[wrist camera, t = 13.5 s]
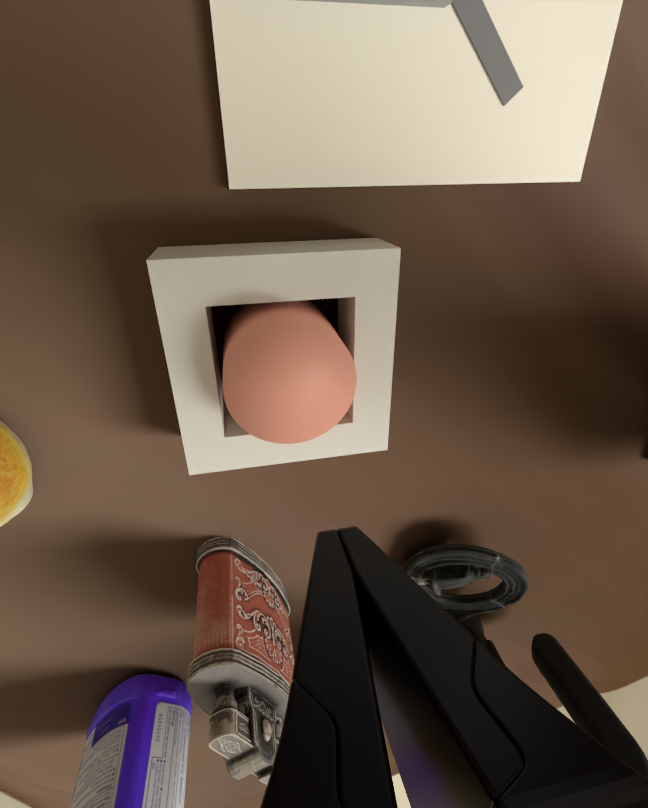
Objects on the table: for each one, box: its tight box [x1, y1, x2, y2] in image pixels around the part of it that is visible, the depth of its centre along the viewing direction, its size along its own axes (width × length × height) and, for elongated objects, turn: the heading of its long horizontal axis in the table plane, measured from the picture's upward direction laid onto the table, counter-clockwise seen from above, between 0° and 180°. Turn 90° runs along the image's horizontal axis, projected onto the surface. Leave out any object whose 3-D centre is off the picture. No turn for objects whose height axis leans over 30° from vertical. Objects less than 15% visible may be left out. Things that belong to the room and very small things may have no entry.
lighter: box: [186, 536, 295, 785], centre depth 22 cm, size 8×3×10 cm, turn 27°
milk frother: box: [403, 544, 648, 779], centre depth 26 cm, size 14×16×15 cm
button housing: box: [146, 238, 401, 475], centre depth 19 cm, size 9×9×3 cm
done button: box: [223, 300, 357, 444], centre depth 18 cm, size 5×5×4 cm
